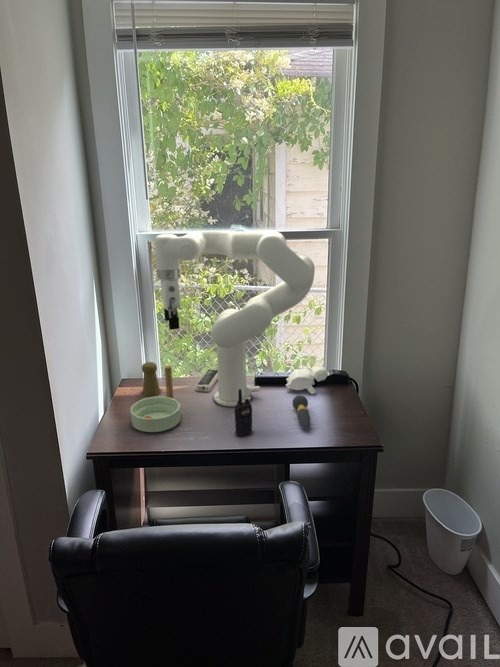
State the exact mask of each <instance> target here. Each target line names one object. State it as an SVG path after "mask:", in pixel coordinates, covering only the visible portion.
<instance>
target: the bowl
mask: <svg viewBox="0 0 500 667" xmlns="http://www.w3.org/2000/svg"><path fill="white" fill-rule="evenodd" d="M173 398H174V397H173ZM173 398H170V397H167V396H149V397H146V398H143V399H140V400H138V401H136V402H134V403H133V405H131V407H130V408H129V410H130V418H131V419H130V422H131V426H132V427H133V428H134V429H135V430H138V431H140V432H144V433H145V432H146V433H159V432H164V431H167V430H171V429H173V428H174V427H176V426H177V425H178V424H179V423H180V422H181V419H182V415H181V413H182V412H181V404H180V402H179V400H177V399H176V398H175V399H173ZM146 416H150V417H152V418H144V417H146Z"/></svg>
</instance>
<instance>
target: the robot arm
mask: <svg viewBox="0 0 500 667" xmlns="http://www.w3.org/2000/svg"><path fill="white" fill-rule="evenodd" d="M154 252H155V254H154V255H155V266H156V279H157V280H158V281H160V288H161V299H162V304H163V307H164V309H163V311H164V321H166V322H168V329H169V330H179V329H180V317H179V311H180V310H181V309H182V301H181V291H180V290H181V289H180V282H179V280H180V279H181V278H182V276H181V273H182V272H181V260H182V261H193V260H195V259H197V258H198V257H199V256H200V255H222V256H226V257H228V258H230V259H232V260H235V261H237V260H238V261H239V260H240V261H241V260H260V261H261V262H262V263H263V264H264V266H266V267H267V268H268V269H269V270H270V271H272V272H273V273H274V274H275V275H276V277H278V278H280V279H281V280H282V281H281V282H280V283H279V284H276V285H275V286H274V287H272V288H269V289H268V290H266V291H263V292H261V293H260V294H258V295H255V296H253V297H251V298H250V299H249V300H247V301H246V303H245V305H244V307H243V308H241V309H239V310H238V309H236V308H226V309H224V310H222V311H221V313H219V315H218V316H217V318H216V319H215V322H214V323H213V325H212V327H211V331H210V336H211V340H212V342H213V343H214V344H215V345H216V354H217V355H216V359H217V361H216V362H217V370H218V379H217V389H218V391H216V392H215V393H214V395H213V399H214V402H215V403H217V404H218V405H220V406H223V407H235V405H237V402H238V401H239V389H241V392H242V402H245V399H249V402H250V401H251V399H252V395H251V394H252V393H259V392H261V388H260V386H259V385H256V386H255V384H254V383H253V384H247V358H246V356H247V346H246V345H247V344H246V343H247V341H248V340H252V339H253V338H256V337H257V336H259V335H261V334H262V333H264V332H265V331H267V330H268V328H270V326H271V324H272V322H273V319H274V318H277V316H279V315H281V314H284V313H285V312H286V311H289V310H291V309H292V308H294V307H296V306H297V305H298V304H300V303H301V302H302V301H303V300H304V299H305V298H306V297H307V295H308V294H309V292H310V290H311V289H312V286H313V284H314V278H315V269H316V268H315V264H314V261H313V260H312V259H311V258H310V257H309V256H307V255H302V254H301V255H298V254H297V253H296V252H295V251H293V250H292V249H291V248H290V247H289V246H288V245H287V240H286V238H285V236H284V235H283V234H282V233H281V232H278V231H273V230H264V231H262V230H260V231H258V230H257V231H222V230H198V231H191V232H188V233H187V234H185V235H182V236H177V235H176V234H172V233H171V234H169V233H166V234H165V233H164V234H158V235H156V236H155V238H154ZM178 310H179V311H178Z"/></svg>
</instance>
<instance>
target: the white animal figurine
mask: <svg viewBox="0 0 500 667" xmlns="http://www.w3.org/2000/svg"><path fill="white" fill-rule="evenodd" d="M327 377H328V370H327V368H326V367H325V366H322V365H318V366H316V367H315V368H314V369H313V371H312V370H310V369H308V368H307V369H306V368H305V369H304V368H303V369H300V368H297V369H294V370H293V371H292V373H290V375H289V376H288V377H287V378H286V379H285V380H286V382H287V383H286V384H285V387H286V390H287V392H288V393H289V392H290V390H294V391H302V390H307V391H308V392H309V393H310V394H311V395H315V394H316V390H315V388H314V387H313V386H315V385H316V383H315V380H316V382H321V381H325V380H326V379H327Z"/></svg>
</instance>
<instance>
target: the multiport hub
mask: <svg viewBox="0 0 500 667" xmlns="http://www.w3.org/2000/svg"><path fill="white" fill-rule="evenodd" d="M217 381H218V369H207V370H206V372H205V373H204V375H203V376H202V377H201V379H200V380H199V381H198V383H197V384H196V391H197V392H204V393H209V392H210V391H211V389H212V388H213V387H214V385H215V383H216V382H217Z"/></svg>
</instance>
